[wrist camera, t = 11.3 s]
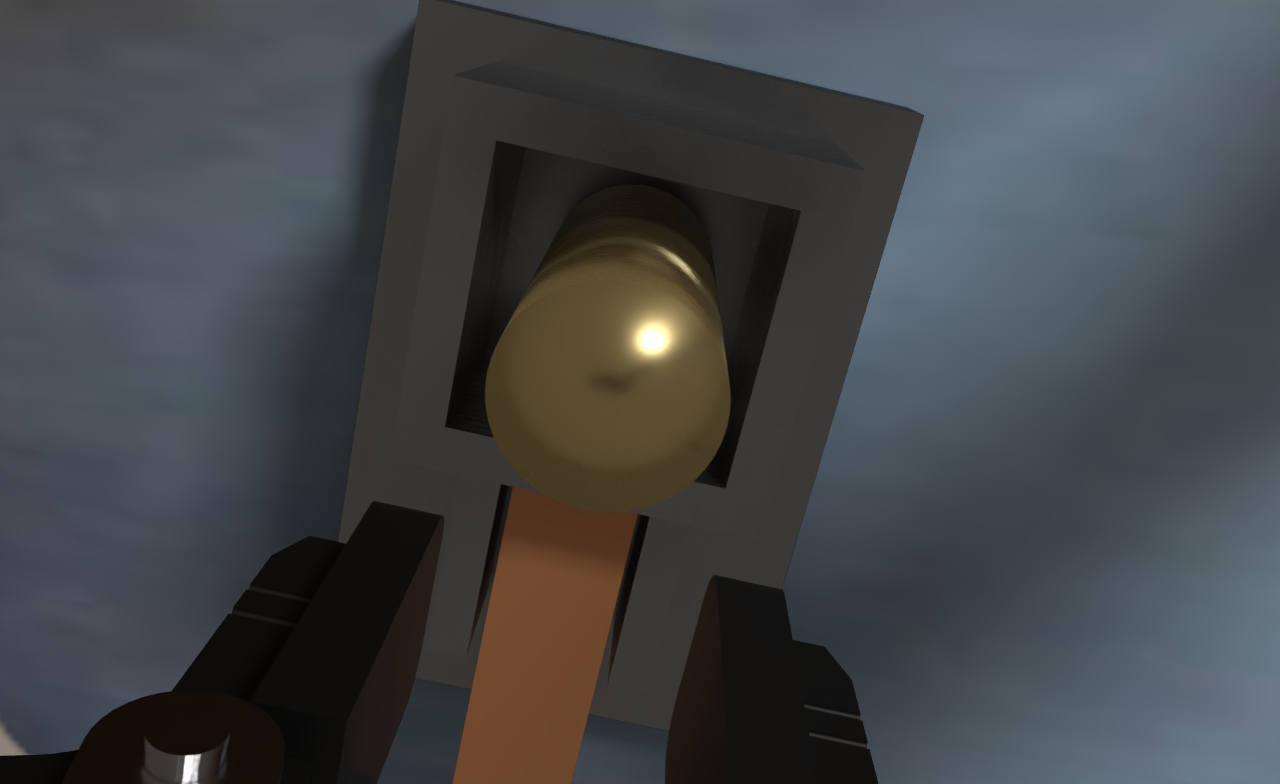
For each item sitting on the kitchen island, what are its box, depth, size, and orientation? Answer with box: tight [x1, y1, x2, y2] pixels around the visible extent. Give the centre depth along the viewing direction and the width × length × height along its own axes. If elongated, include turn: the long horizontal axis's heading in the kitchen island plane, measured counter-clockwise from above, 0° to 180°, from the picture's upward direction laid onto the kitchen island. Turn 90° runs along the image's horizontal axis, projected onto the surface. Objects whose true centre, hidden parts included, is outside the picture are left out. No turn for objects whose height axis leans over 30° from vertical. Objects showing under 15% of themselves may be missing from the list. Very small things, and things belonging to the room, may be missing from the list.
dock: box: [338, 0, 924, 731], centre depth 27 cm, size 18×12×8 cm, turn 167°
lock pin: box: [453, 487, 638, 784], centre depth 29 cm, size 9×3×3 cm, turn 167°
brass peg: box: [485, 184, 731, 513], centre depth 23 cm, size 4×4×10 cm
